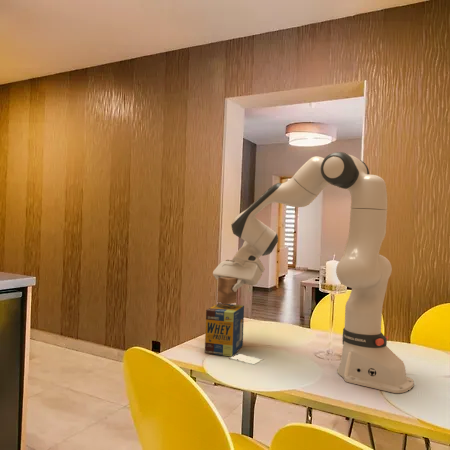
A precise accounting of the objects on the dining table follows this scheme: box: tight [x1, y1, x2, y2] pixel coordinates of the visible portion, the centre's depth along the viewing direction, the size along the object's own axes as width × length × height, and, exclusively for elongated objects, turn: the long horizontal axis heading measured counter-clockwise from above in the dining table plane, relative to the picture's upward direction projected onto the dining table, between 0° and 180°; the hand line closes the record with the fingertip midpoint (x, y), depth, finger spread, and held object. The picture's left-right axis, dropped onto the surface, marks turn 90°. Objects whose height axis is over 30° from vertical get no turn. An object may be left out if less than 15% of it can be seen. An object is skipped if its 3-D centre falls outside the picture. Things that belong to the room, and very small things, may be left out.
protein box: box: [204, 302, 245, 357], centre depth 151 cm, size 10×15×16 cm
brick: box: [216, 277, 238, 304], centre depth 151 cm, size 5×5×9 cm
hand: (226, 289), depth 151 cm, fingers closed on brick, 5 cm apart
